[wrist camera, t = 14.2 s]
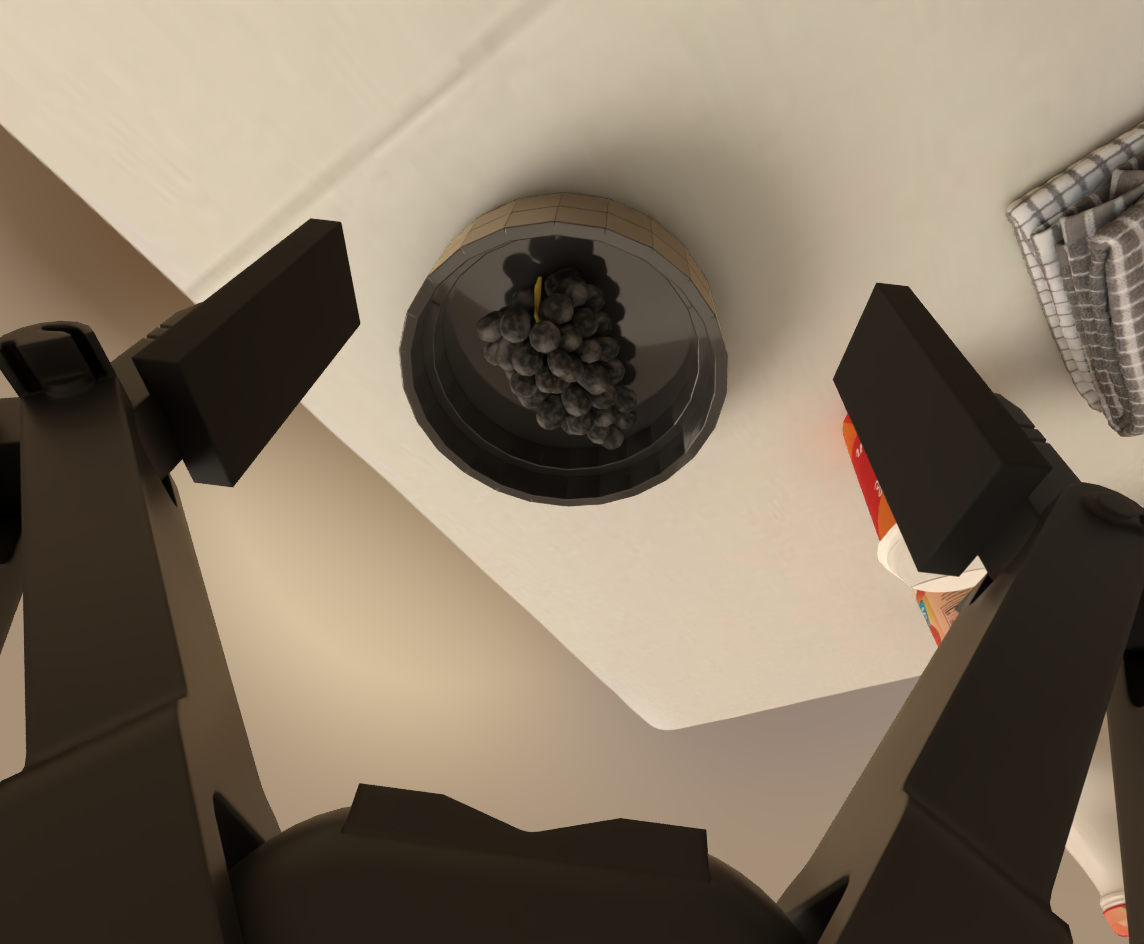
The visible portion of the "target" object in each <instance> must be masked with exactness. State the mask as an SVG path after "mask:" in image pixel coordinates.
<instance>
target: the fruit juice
mask: <svg viewBox="0 0 1144 944" xmlns="http://www.w3.org/2000/svg"><path fill="white" fill-rule="evenodd" d="M974 587H975V586H974ZM974 587H970V588H967V589H963V590H958V591H951V592H926V591H920V590H917V589H914V588H912V591H913V593H914V595H915V598H916V600H917V602H918V604H919V606H920V608H921V611H922V613H923V615H924V617H925V619H926V622H927V624H928V626H929V628H930V630H931V632H932V635H933V637H934V639H935V641H936V643H937V645H938V647H939V645H940V644H941V642H942V640H943V639H944V637H945V635H946V634H947V632H948V630H949V629H950V627H951V625H952V624H953V622H954V620H955V619H956V617H957V615H958V614H959V612H957V611H956V610H954V609H955V608H956V606H957V605H958V604H959V603H960V602H961V601H962V600H963V599H964V598H965V597H966V595H967V594H968V593H969V592H970V591H971V590H972V589H973V588H974ZM1065 848H1066V849H1067V850H1068V851H1069V852H1070V854H1071V855H1072V856H1073V857H1074V859H1075V860H1076V861H1077V862H1078V863H1079V865H1080V866H1081V867H1082V868H1083V870H1084V871H1085V872H1086V874H1087V875H1088V876H1089V877H1090V879H1091V880H1092V882H1093V883H1094V884H1095V886H1096V888H1097V890H1098V891H1099V893H1100V896H1101V899H1100V906H1101V907H1102V910H1103V914H1104V916H1105V918H1106V919H1107V921H1108V923H1109V924H1110V926H1111V928H1112V929H1113V930H1114V932H1115V933H1116V934H1118V935H1119V936H1122V937H1126V938H1129V934H1128V923H1127V913H1126V903H1125V893H1124V883H1123V873H1122V863H1121V853H1120V843H1119V833H1118V823H1117V813H1116V802H1115V792H1114V782H1113V772H1112V762H1111V752H1110V742H1109V732H1108V722H1107V712H1106V714H1105V717H1104V720H1103V724H1102V727H1101V730H1100V734H1099V737H1098V740H1097V744H1096V747H1095V750H1094V754H1093V757H1092V760H1091V763H1090V767H1089V770H1088V773H1087V777H1086V780H1085V783H1084V787H1083V790H1082V793H1081V796H1080V800H1079V803H1078V806H1077V810H1076V813H1075V816H1074V820H1073V823H1072V826H1071V829H1070V833H1069V836H1068V839H1067V843H1066V846H1065Z"/></svg>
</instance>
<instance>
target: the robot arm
mask: <svg viewBox="0 0 1144 944" xmlns="http://www.w3.org/2000/svg"><path fill="white" fill-rule="evenodd" d="M359 325H360V319H359V314H358V308H357V303H356V298H355V292H354V287H353V282H352V277H351V271H350V266H349V261H348V255H347V250H346V245H345V239H344V234H343V229H342V224H341V222H337V221H328V220H320V219H309V220H308V221H307V222H305V223H304V224H303V225H302V226H300V227H299V228H298V229H296V230H295V231H294V232H293V233H291V234H290V235H289V236H287V237H286V238H285V239H284V240H282V241H281V242H280V243H278V244H277V245H276V246H275V247H273V248H272V249H271V250H269V251H268V252H267V253H266V254H264V255H263V256H262V257H260V258H259V259H258V260H257V261H255V262H254V263H253V264H251V265H250V266H249V267H247V268H246V269H245V270H244V271H242V272H241V273H240V274H238V275H237V276H236V277H235V278H233V279H232V280H231V281H229V282H228V283H227V284H226V285H224V286H223V287H222V288H220V289H219V290H218V291H217V292H215V293H214V294H213V295H211V296H210V297H209V298H208V299H206V300H205V301H204V302H201V303H198V304H196V305H194V306H191V307H189V308H186V309H184V310H181V311H179V312H177V313H175V314H174V315H173V316H171V317H170V318H169V319H167V320H166V321H165V322H163V323H162V324H161V325H160V328H155V329H154V330H153V331H152V332H150V333H149V334H148V335H147V338H142V339H141V340H140V341H138V342H137V343H136V344H135V345H133V346H132V347H130V348H129V349H128V350H126V351H125V352H124V353H122V354H121V355H120V356H118V357H117V358H116V359H115V360H113V361H112V362H109V360H108V358H107V356H106V355H105V352H104V350H103V348H102V347H101V345H100V343H99V341H98V339H97V337H96V335H95V334H94V332H93V331H92V329H91V328H90V327H89V326H88V325H85V324H82V323H79V322H70V321H56V322H46V323H39V324H35V325H31V326H27V327H23V328H20V329H17V330H15V331H12V332H10V333H8V334H5V335H3V336H2V337H1V338H0V370H1V371H2V373H3V374H4V376H5V377H6V379H7V380H8V381H9V383H10V384H11V385H12V387H13V389H14V390H15V391H16V393H17V394H18V396H19V397H17V398H16V397H15V398H1V399H0V654H1V651H2V648H3V645H4V642H5V640H6V637H7V634H8V632H9V629H10V626H11V623H12V620H13V618H14V615H15V612H16V610H17V607H18V604H19V601H20V599H21V596H22V593H23V611H24V613H23V614H24V659H25V660H24V664H25V713H26V761H25V767H24V768H23V770H22V772H20V773H18V774H15V775H13V776H11V777H9V778H7V779H4V780H2V781H1V782H0V944H1073V939H1072V936H1071V932H1070V928H1069V925H1068V924H1067V923H1065V922H1064V921H1063V920H1062V919H1061V918H1059V917H1058V916H1057V915H1056V914H1054V913H1053V912H1052V910H1051V906H1050V899H1051V893H1052V889H1053V886H1054V882H1055V879H1056V876H1057V872H1058V869H1059V866H1060V862H1061V859H1062V856H1063V852H1064V849H1065V846H1066V843H1067V839H1068V836H1069V833H1070V829H1071V826H1072V823H1073V820H1074V816H1075V813H1076V810H1077V806H1078V803H1079V800H1080V796H1081V793H1082V790H1083V787H1084V783H1085V780H1086V777H1087V773H1088V770H1089V767H1090V763H1091V760H1092V757H1093V754H1094V750H1095V747H1096V744H1097V740H1098V737H1099V734H1100V730H1101V727H1102V724H1103V720H1104V717H1105V714H1106V712H1107V722H1108V732H1109V742H1110V752H1111V762H1112V772H1113V782H1114V792H1115V802H1116V813H1117V823H1118V833H1119V843H1120V853H1121V863H1122V873H1123V883H1124V893H1125V903H1126V913H1127V923H1128V934H1129V944H1144V508H1142V507H1141V506H1140V505H1139V504H1137V503H1136V502H1135V501H1133V500H1131V499H1129V498H1128V497H1126V496H1124V495H1122V494H1120V493H1119V492H1116V491H1114V490H1111V489H1108V488H1106V487H1103V486H1100V485H1095V484H1090V483H1085V482H1081V481H1080V480H1079V479H1078V477H1077V476H1076V475H1075V474H1074V473H1073V471H1072V470H1071V469H1070V468H1069V467H1068V465H1067V464H1066V463H1065V462H1064V461H1063V459H1062V458H1061V457H1060V456H1059V455H1058V453H1057V452H1056V451H1055V450H1054V449H1053V447H1052V446H1051V445H1050V444H1049V443H1046V439H1045V438H1044V436H1043V435H1042V434H1041V433H1040V432H1039V430H1037V429H1034V427H1035V426H1034V424H1033V423H1032V422H1031V421H1030V420H1029V418H1028V417H1027V416H1026V415H1025V414H1024V412H1023V411H1022V410H1021V409H1020V408H1018V407H1017V406H1015V405H1014V404H1013V403H1011V402H1010V401H1008V400H1007V399H1006V398H1004V397H1003V396H1001V395H1000V394H997V393H993V392H992V391H991V389H990V388H989V387H988V386H987V384H986V383H985V382H984V381H983V379H982V378H981V377H980V376H979V374H978V373H977V372H976V371H975V369H974V368H973V367H972V366H971V364H970V363H969V362H968V361H967V359H966V358H965V357H964V356H963V354H962V353H961V352H960V351H959V349H958V348H957V347H956V345H955V344H954V343H953V342H952V340H951V339H950V338H949V337H948V335H947V334H946V333H945V332H944V330H943V329H942V328H941V327H940V325H939V324H938V323H937V322H936V320H935V319H934V318H933V317H932V315H931V314H930V313H929V312H928V310H927V309H926V308H925V307H924V305H923V304H922V303H921V302H920V300H919V299H918V298H917V297H916V295H915V294H914V293H913V292H912V290H911V289H910V288H909V287H908V286H901V285H892V284H883V283H876V285H875V287H874V289H873V291H872V294H871V296H870V298H869V300H868V302H867V305H866V307H865V309H864V311H863V314H862V316H861V318H860V320H859V322H858V325H857V327H856V329H855V331H854V334H853V336H852V338H851V340H850V342H849V345H848V347H847V349H846V351H845V353H844V356H843V358H842V360H841V362H840V365H839V367H838V369H837V371H836V373H835V376H834V378H833V381H834V383H835V385H836V388H837V390H838V392H839V394H840V397H841V399H842V401H843V403H844V406H845V408H846V410H847V412H848V415H849V417H850V419H851V421H852V424H853V426H854V428H855V430H856V433H857V435H858V437H859V440H860V442H861V444H862V446H863V449H864V451H865V453H866V455H867V458H868V460H869V462H870V464H871V467H872V469H873V471H874V473H875V476H876V478H877V480H878V482H879V485H880V487H881V489H882V491H883V494H884V496H885V498H886V501H887V503H888V505H889V507H890V510H891V512H892V514H893V516H894V519H895V521H896V523H897V525H898V528H899V530H900V532H901V534H902V537H903V539H904V541H905V543H906V546H907V548H908V550H909V552H910V555H911V557H912V559H913V562H914V564H915V566H916V568H917V571H918V572H923V573H931V574H939V575H947V576H955V577H960V575H961V574H962V573H963V572H964V571H965V570H966V568H967V567H968V566H969V565H970V564H971V563H972V561H973V560H974V559H975V558H976V557H977V556H979V558H980V560H981V562H982V563H983V565H984V567H985V569H986V571H987V573H986V575H985V576H984V577H983V578H982V579H981V580H980V581H979V582H978V583H977V584H976V586H975V587H974V588H973V589H972V590H971V591H970V592H969V593H968V594H967V595H966V597H965V598H964V599H963V600H962V601H961V602H960V603H959V604H958V605H957V606H956V608H955V609H954V610H956V611H957V612H959V614H958V615H957V617H956V619H955V620H954V622H953V624H952V625H951V627H950V629H949V630H948V632H947V634H946V635H945V637H944V639H943V640H942V642H941V644H940V645H939V647H938V649H937V650H936V652H935V653H934V655H933V657H932V658H931V660H930V662H929V663H928V665H927V667H926V668H925V670H924V672H923V673H922V675H921V677H920V678H919V680H918V682H917V683H916V685H915V687H914V689H913V690H912V692H911V693H910V695H909V697H908V698H907V700H906V701H905V703H904V705H903V706H902V708H901V710H900V711H899V713H898V715H897V716H896V718H895V720H894V721H893V723H892V725H891V726H890V728H889V730H888V731H887V733H886V735H885V736H884V738H883V740H882V741H881V743H880V744H879V746H878V748H877V749H876V751H875V753H874V754H873V756H872V758H871V760H870V761H869V763H868V764H867V766H866V768H865V769H864V771H863V773H862V774H861V776H860V778H859V779H858V781H857V782H856V784H855V786H854V787H853V789H852V791H851V792H850V794H849V796H848V797H847V799H846V801H845V802H844V804H843V806H842V807H841V809H840V811H839V812H838V814H837V816H836V817H835V819H834V820H833V822H832V824H831V826H830V827H829V829H828V831H827V832H826V834H825V835H824V837H823V839H822V840H821V842H820V844H819V846H818V847H817V849H816V850H815V852H814V854H813V855H812V857H811V858H810V860H809V861H808V863H807V864H806V865H805V867H804V868H803V869H802V871H801V872H800V873H799V874H798V875H797V877H796V878H795V879H794V880H793V882H792V883H791V884H790V885H789V887H788V888H787V889H786V890H785V892H784V893H783V895H782V896H781V897H780V899H779V900H778V901H777V903H775V902H774V901H773V900H772V899H771V898H770V897H769V896H768V895H767V894H766V893H765V892H764V891H763V890H762V889H761V888H759V887H758V886H757V885H756V884H754V883H753V882H752V881H751V880H749V879H748V878H747V877H745V876H744V875H743V874H742V873H740V872H739V871H737V870H735V869H734V868H732V867H730V866H729V865H727V864H726V863H724V862H723V861H721V860H719V859H718V858H715V857H713V856H711V855H709V854H708V848H707V835H706V830H705V829H698V828H689V827H683V826H674V825H668V824H660V823H652V822H645V821H637V820H630V819H623V818H619V819H613V820H606V821H600V822H594V823H589V824H582V825H576V826H570V827H564V828H558V829H552V830H546V831H540V832H526V831H522V830H520V829H517V828H515V827H513V826H511V825H509V824H507V823H504V822H502V821H500V820H498V819H495V818H493V817H491V816H489V815H487V814H484V813H483V812H480V811H478V810H476V809H474V808H472V807H469V806H467V805H465V804H463V803H461V802H458V801H456V800H454V799H452V798H450V797H448V796H446V795H443V794H435V793H428V792H421V791H413V790H406V789H398V788H391V787H383V786H375V785H368V784H361V783H360V784H359V786H358V789H357V792H356V794H355V798H354V800H353V803H352V806H351V807H346V808H341V809H337V810H334V811H330V812H327V813H324V814H320V815H317V816H315V817H313V818H311V819H308V820H305V821H303V822H301V823H298V824H296V825H294V826H292V827H291V828H289V829H287V830H285V831H283V832H282V833H281V830H280V828H279V825H278V823H277V820H276V818H275V816H274V813H273V811H272V809H271V807H270V805H269V803H268V801H267V799H266V796H265V794H264V791H263V789H262V786H261V782H260V779H259V776H258V772H257V769H256V766H255V762H254V758H253V755H252V751H251V748H250V745H249V740H248V737H247V733H246V730H245V727H244V723H243V719H242V716H241V712H240V709H239V705H238V702H237V698H236V694H235V691H234V687H233V684H232V680H231V677H230V674H229V670H228V666H227V663H226V659H225V655H224V652H223V649H222V645H221V641H220V638H219V634H218V631H217V627H216V624H215V620H214V616H213V613H212V610H211V606H210V602H209V599H208V595H207V592H206V588H205V585H204V581H203V578H202V574H201V570H200V567H199V564H198V560H197V556H196V553H195V550H194V546H193V542H192V539H191V535H190V532H189V528H188V524H187V521H186V517H185V514H184V510H183V507H182V503H181V500H180V496H179V492H178V489H177V486H176V484H175V482H174V480H173V479H172V477H171V475H170V472H171V471H172V470H173V469H174V468H175V466H176V465H177V464H178V463H179V462H180V461H181V460H182V459H183V461H184V463H185V465H186V467H187V469H188V471H189V473H190V475H191V477H192V479H193V481H194V482H195V483H203V484H211V485H219V486H227V487H233V486H234V485H235V484H236V483H237V482H238V480H239V479H240V478H241V477H242V475H243V474H244V473H245V471H246V470H247V469H248V468H249V466H250V465H251V464H252V462H253V461H254V460H255V458H256V457H257V456H258V455H259V453H260V452H261V451H262V450H263V448H264V447H265V446H266V444H267V443H268V442H269V440H270V439H271V438H272V437H273V435H274V434H275V433H276V432H277V430H278V429H279V428H280V427H281V425H282V424H283V423H284V421H285V420H286V419H287V418H288V416H289V415H290V414H291V412H292V411H293V410H294V408H295V407H296V406H297V405H298V403H299V402H300V401H301V400H302V398H303V397H304V396H305V394H306V393H307V392H308V391H309V389H310V388H311V387H312V386H313V384H314V383H315V382H316V380H317V379H318V378H319V377H320V375H321V374H322V373H323V371H324V370H325V369H326V368H327V366H328V365H329V364H330V362H331V361H332V360H333V359H334V357H335V356H336V355H337V353H338V352H339V351H340V350H341V348H342V347H343V346H344V344H345V343H346V342H347V341H348V339H349V338H350V337H351V336H352V334H353V333H354V332H355V330H356V329H357V328H358V327H359Z"/></svg>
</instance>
